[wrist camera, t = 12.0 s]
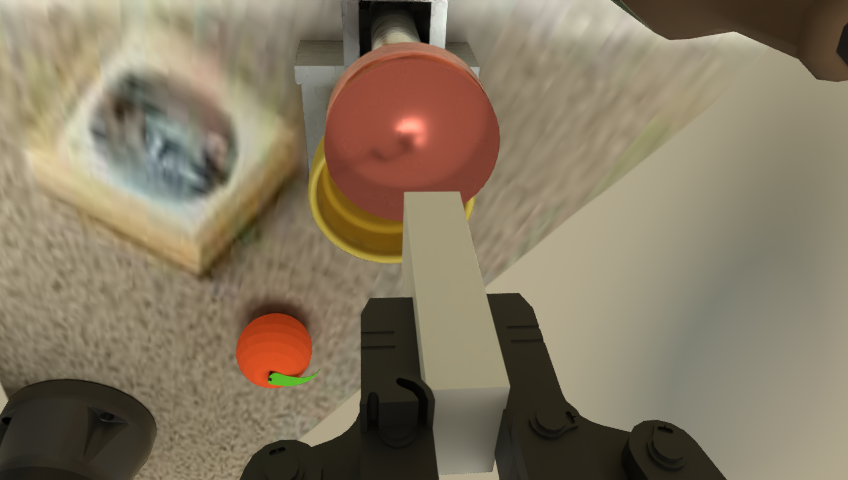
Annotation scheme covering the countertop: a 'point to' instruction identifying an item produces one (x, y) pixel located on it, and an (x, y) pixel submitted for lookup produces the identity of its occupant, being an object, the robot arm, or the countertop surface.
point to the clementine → (274, 351)
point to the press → (331, 59)
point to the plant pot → (354, 218)
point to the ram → (407, 120)
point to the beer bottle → (759, 26)
